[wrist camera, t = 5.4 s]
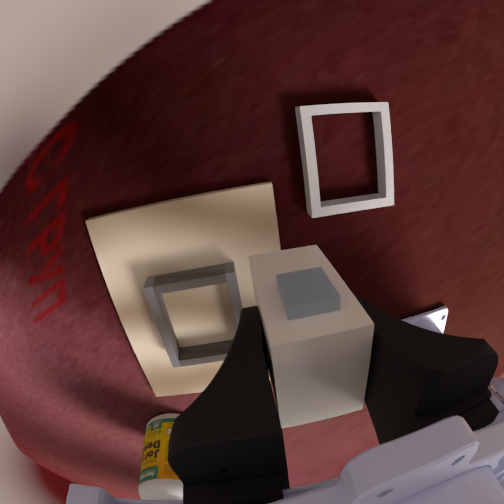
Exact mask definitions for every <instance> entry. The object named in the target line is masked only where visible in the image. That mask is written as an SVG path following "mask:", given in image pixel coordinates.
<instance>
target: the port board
mask: <svg viewBox="0 0 504 504" xmlns="http://www.w3.org/2000/svg"><path fill="white" fill-rule="evenodd" d="M86 225H87V228H88V231H89V235H90V238H91V241H92V244H93V247H94V250H95V253H96V256H97V259H98V262H99V265H100V268H101V271H102V273H103V276H104V279H105V282H106V284H107V287H108V290H109V292H110V295H111V298H112V300H113V303H114V305H115V308H116V310H117V313H118V315H119V318H120V320H121V322H122V325H123V327H124V329H125V332H126V334H127V336H128V339H129V341H130V343H131V345H132V348H133V350H134V352H135V354H136V356H137V358H138V361H139V363H140V365H141V367H142V369H143V371H144V373H145V375H146V377H147V379H148V381H149V383H150V385H151V387H152V389H153V391H154V393H155V395H156V397H159V396H170V395H180V394H189V393H197V392H203V391H204V390H205V389H206V387H207V386H208V385H209V383H210V382H211V381H212V379H213V378H214V376H215V375H216V373H217V372H218V370H219V368H220V367H221V365H222V363H223V361H224V360H225V358H226V356H227V354H228V351H229V349H230V347H231V344H232V342H233V339H234V337H235V334H236V331H237V327H238V324H239V319H240V311H241V310H242V308H246V307H252V306H256V303H255V296H254V290H253V283H252V276H251V270H250V263H249V256H250V255H256V254H262V253H268V252H274V251H280V250H281V248H280V239H279V231H278V224H277V216H276V208H275V201H274V193H273V186H272V182H271V181H270V182H264V183H257V184H251V185H245V186H240V187H234V188H228V189H223V190H217V191H212V192H206V193H201V194H196V195H191V196H186V197H181V198H176V199H171V200H166V201H161V202H157V203H152V204H148V205H143V206H139V207H134V208H130V209H125V210H121V211H117V212H113V213H108V214H104V215H100V216H96V217H92V218H88V219H87V220H86ZM269 380H270V376H269Z"/></svg>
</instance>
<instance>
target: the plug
mask: <svg viewBox="0 0 504 504" xmlns="http://www.w3.org/2000/svg"><path fill="white" fill-rule="evenodd" d="M249 263H250V270H251V276H252V283H253V290H254V296H255V303H256V306H258V308H259V311H260V315H261V322H262V329H263V336H264V342H265V349H266V356H267V362H268V370H269V376H270V381H271V386H272V390H273V395H274V399H275V403H276V407H277V411H278V414H279V419H280V423H281V428H287V427H292V426H297V425H302V424H307V423H311V422H315V421H320V420H324V419H328V418H332V417H336V416H340V415H343V414H347V413H351V412H354V411H358V410H361V409H362V408H363V403H364V397H365V391H366V385H367V378H368V372H369V365H370V357H371V350H372V341H373V332H374V323H373V321H372V320H371V318H370V317H369V315H368V314H367V313H366V311H365V310H364V308H363V307H362V306H361V304H360V303H359V301H358V300H357V299H356V297H355V296H354V295H353V293H352V292H351V290H350V289H349V288H348V286H347V285H346V284H345V282H344V281H343V279H342V278H341V277H340V275H339V274H338V273H337V271H336V270H335V269H334V267H333V266H332V265H331V263H330V262H329V261H328V259H327V258H326V257H325V255H324V254H323V253H322V251H321V250H320V249H319V247H318V246H317V245H311V246H305V247H299V248H293V249H287V250H280V251H274V252H268V253H262V254H256V255H250V256H249Z"/></svg>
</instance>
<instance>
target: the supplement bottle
mask: <svg viewBox="0 0 504 504" xmlns="http://www.w3.org/2000/svg"><path fill="white" fill-rule="evenodd" d="M179 415H180V414H177V413H167V414H162V415H158V416H156V417H154V418H152V419H151V420H150V421H149V422H148V424H147V426H146V431H145V438H144V446H143V454H142V462H141V471H140V478H139V488H138V491H139V495H140V497H141V499H142V500H183V483H182V482H181V480H180V479H179V478H178V477H177V475H176V474H175V473H174V471H173V470H172V469H171V467H170V465H169V463H168V444H169V438H170V434H171V430H172V426H173V423H174V420H175V418H176V417H178V416H179Z"/></svg>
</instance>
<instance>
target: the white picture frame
mask: <svg viewBox="0 0 504 504" xmlns="http://www.w3.org/2000/svg"><path fill="white" fill-rule="evenodd" d="M354 112H373V122H374V133H375V145H376V159H377V177H378V193H376V194H369V195H362V196H355V197H348V198H341V199H334V200H328V201H321V202H320V192H319V181H318V171H317V161H316V152H315V143H314V135H313V127H312V119H311V115H323V114H337V113H354ZM295 113H296V120H297V128H298V135H299V143H300V151H301V160H302V168H303V177H304V186H305V196H306V206H307V213H308V214H309V215H310V216H311V217H312V218H316V217H322V216H329V215H335V214H341V213H347V212H353V211H360V210H366V209H372V208H379V207H385V206H392V205H394V176H393V154H392V138H391V126H390V115H389V105H388V102H362V103H339V104H322V105H309V106H299V107H295Z"/></svg>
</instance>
